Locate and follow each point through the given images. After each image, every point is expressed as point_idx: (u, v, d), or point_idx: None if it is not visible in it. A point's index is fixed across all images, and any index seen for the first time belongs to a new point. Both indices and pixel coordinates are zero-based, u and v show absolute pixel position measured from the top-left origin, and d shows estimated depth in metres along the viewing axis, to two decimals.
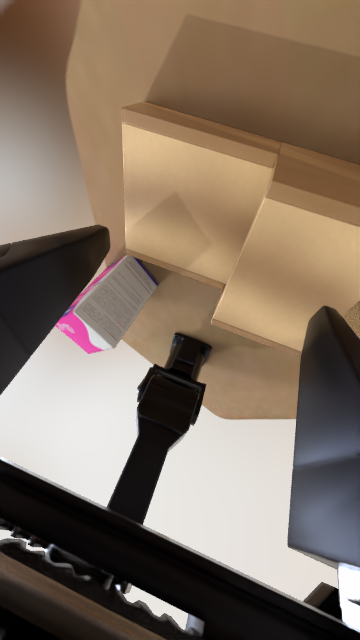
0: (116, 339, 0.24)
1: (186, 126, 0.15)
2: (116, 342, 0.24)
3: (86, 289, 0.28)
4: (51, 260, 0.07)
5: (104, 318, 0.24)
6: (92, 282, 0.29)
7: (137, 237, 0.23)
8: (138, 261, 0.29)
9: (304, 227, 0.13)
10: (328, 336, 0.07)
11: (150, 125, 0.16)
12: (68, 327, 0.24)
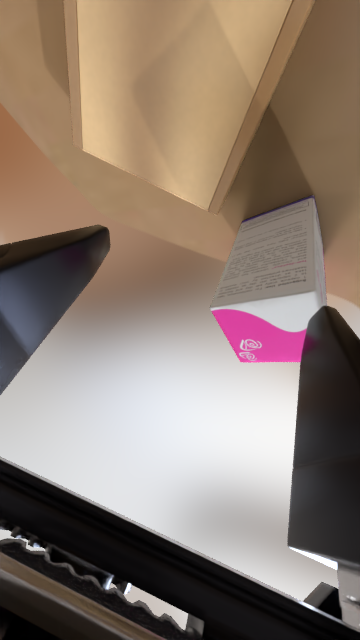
0: (304, 279, 0.11)
1: (67, 54, 0.14)
2: (309, 282, 0.11)
3: None
4: (51, 260, 0.07)
5: (257, 279, 0.13)
6: None
7: (192, 182, 0.16)
8: (257, 216, 0.19)
9: None
10: (328, 336, 0.07)
11: (76, 111, 0.16)
12: (247, 343, 0.15)
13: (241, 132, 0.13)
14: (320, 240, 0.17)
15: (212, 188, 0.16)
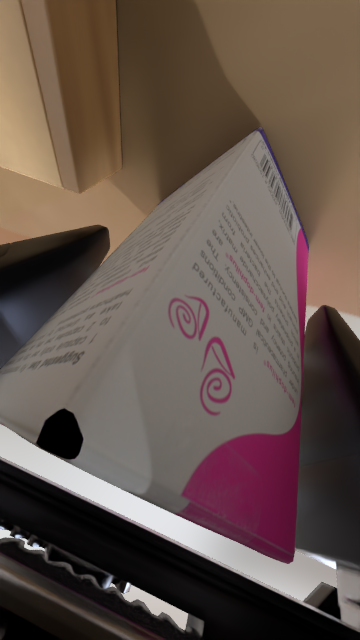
0: (80, 353, 0.03)
1: None
2: (75, 372, 0.02)
3: None
4: (51, 260, 0.07)
5: (54, 329, 0.05)
6: None
7: (12, 136, 0.09)
8: None
9: None
10: (327, 336, 0.07)
11: None
12: None
13: None
14: (280, 214, 0.08)
15: (45, 139, 0.08)
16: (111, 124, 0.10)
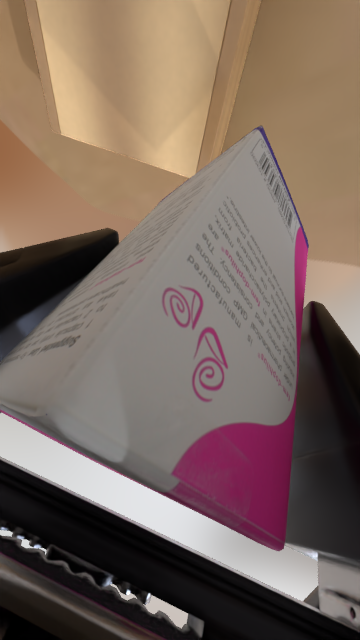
0: (76, 337, 0.03)
1: (31, 29, 0.13)
2: (70, 353, 0.02)
3: None
4: (63, 265, 0.07)
5: (55, 320, 0.05)
6: None
7: (173, 149, 0.15)
8: (178, 187, 0.11)
9: None
10: (314, 331, 0.07)
11: (49, 92, 0.15)
12: None
13: (217, 75, 0.12)
14: (278, 212, 0.08)
15: (195, 151, 0.15)
16: (222, 142, 0.16)
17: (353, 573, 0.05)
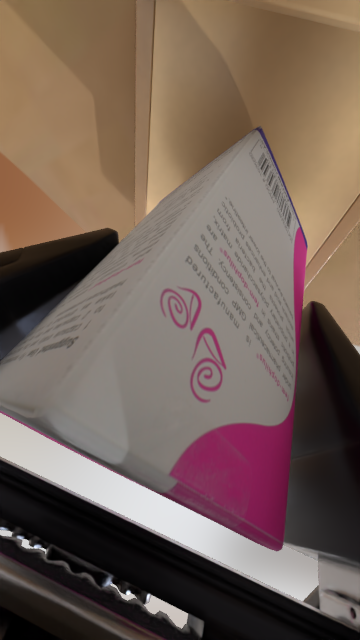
0: (75, 338, 0.03)
1: (135, 177, 0.13)
2: (68, 354, 0.02)
3: None
4: (63, 264, 0.07)
5: (53, 320, 0.05)
6: None
7: None
8: (177, 188, 0.11)
9: None
10: (314, 331, 0.07)
11: None
12: None
13: (332, 235, 0.12)
14: (277, 212, 0.08)
15: None
16: None
17: (354, 574, 0.05)
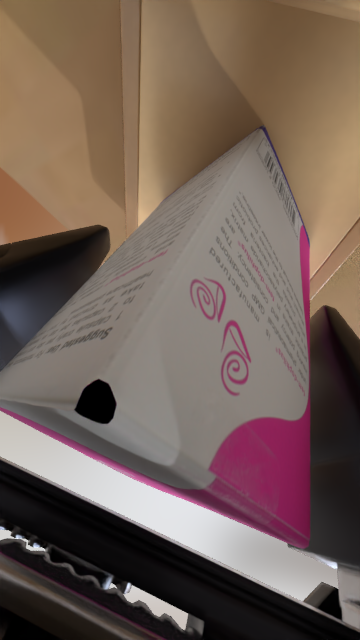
0: (108, 329, 0.03)
1: (125, 185, 0.12)
2: (106, 344, 0.02)
3: None
4: (51, 260, 0.07)
5: (68, 318, 0.05)
6: None
7: None
8: None
9: None
10: (328, 336, 0.07)
11: (132, 231, 0.14)
12: (108, 465, 0.06)
13: (337, 249, 0.11)
14: (284, 209, 0.08)
15: None
16: None
17: None
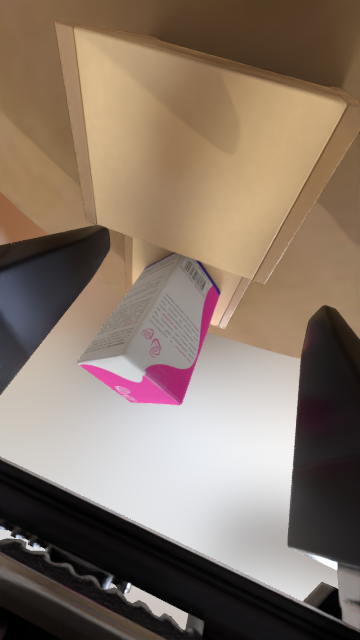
0: (124, 342, 0.13)
1: (125, 258, 0.23)
2: (124, 345, 0.13)
3: None
4: (51, 260, 0.07)
5: (109, 336, 0.15)
6: None
7: None
8: (153, 263, 0.22)
9: (106, 186, 0.13)
10: (328, 336, 0.07)
11: (129, 279, 0.25)
12: (120, 389, 0.17)
13: (234, 295, 0.22)
14: (194, 286, 0.19)
15: (219, 316, 0.24)
16: None
17: None
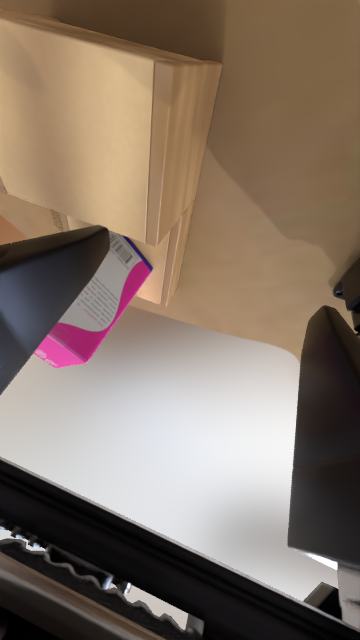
0: None
1: None
2: None
3: None
4: (51, 260, 0.07)
5: None
6: None
7: (146, 291, 0.26)
8: None
9: (1, 153, 0.14)
10: (328, 336, 0.07)
11: None
12: (38, 352, 0.18)
13: (165, 271, 0.23)
14: (116, 258, 0.20)
15: (159, 294, 0.25)
16: (176, 281, 0.27)
17: None
